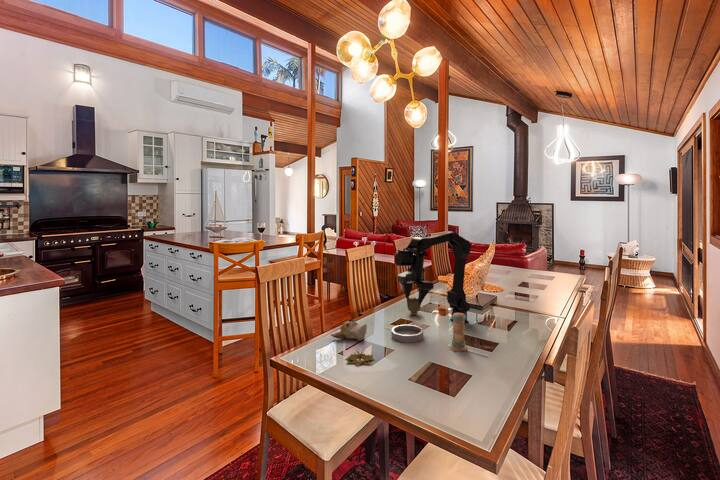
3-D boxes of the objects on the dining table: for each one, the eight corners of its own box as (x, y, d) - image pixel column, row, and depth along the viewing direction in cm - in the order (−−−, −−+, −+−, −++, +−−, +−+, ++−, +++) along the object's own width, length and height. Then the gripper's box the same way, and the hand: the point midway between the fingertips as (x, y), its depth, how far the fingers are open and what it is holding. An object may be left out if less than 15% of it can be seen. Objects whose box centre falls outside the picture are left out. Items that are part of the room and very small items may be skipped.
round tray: (413, 329, 175) (413, 323, 174) (429, 339, 162) (429, 333, 162) (386, 333, 170) (386, 327, 170) (400, 344, 158) (400, 337, 157)
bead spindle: (460, 344, 157) (461, 311, 155) (470, 350, 151) (470, 315, 149) (447, 346, 155) (447, 313, 153) (456, 352, 149) (456, 317, 147)
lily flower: (341, 367, 139) (340, 355, 139) (347, 353, 151) (347, 342, 150) (373, 369, 137) (373, 356, 137) (377, 355, 149) (377, 344, 149)
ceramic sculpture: (361, 324, 157) (328, 322, 163) (362, 344, 158) (330, 342, 164) (370, 316, 167) (340, 315, 173) (372, 336, 168) (341, 333, 174)
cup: (420, 317, 192) (420, 301, 191) (406, 316, 193) (406, 301, 192) (421, 312, 199) (421, 297, 198) (407, 311, 201) (407, 297, 200)
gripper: (389, 262, 173) (386, 296, 174) (415, 269, 156) (411, 307, 157) (409, 263, 178) (406, 296, 179) (436, 269, 162) (432, 306, 163)
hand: (413, 301), depth 170 cm, fingers open, 9 cm apart
